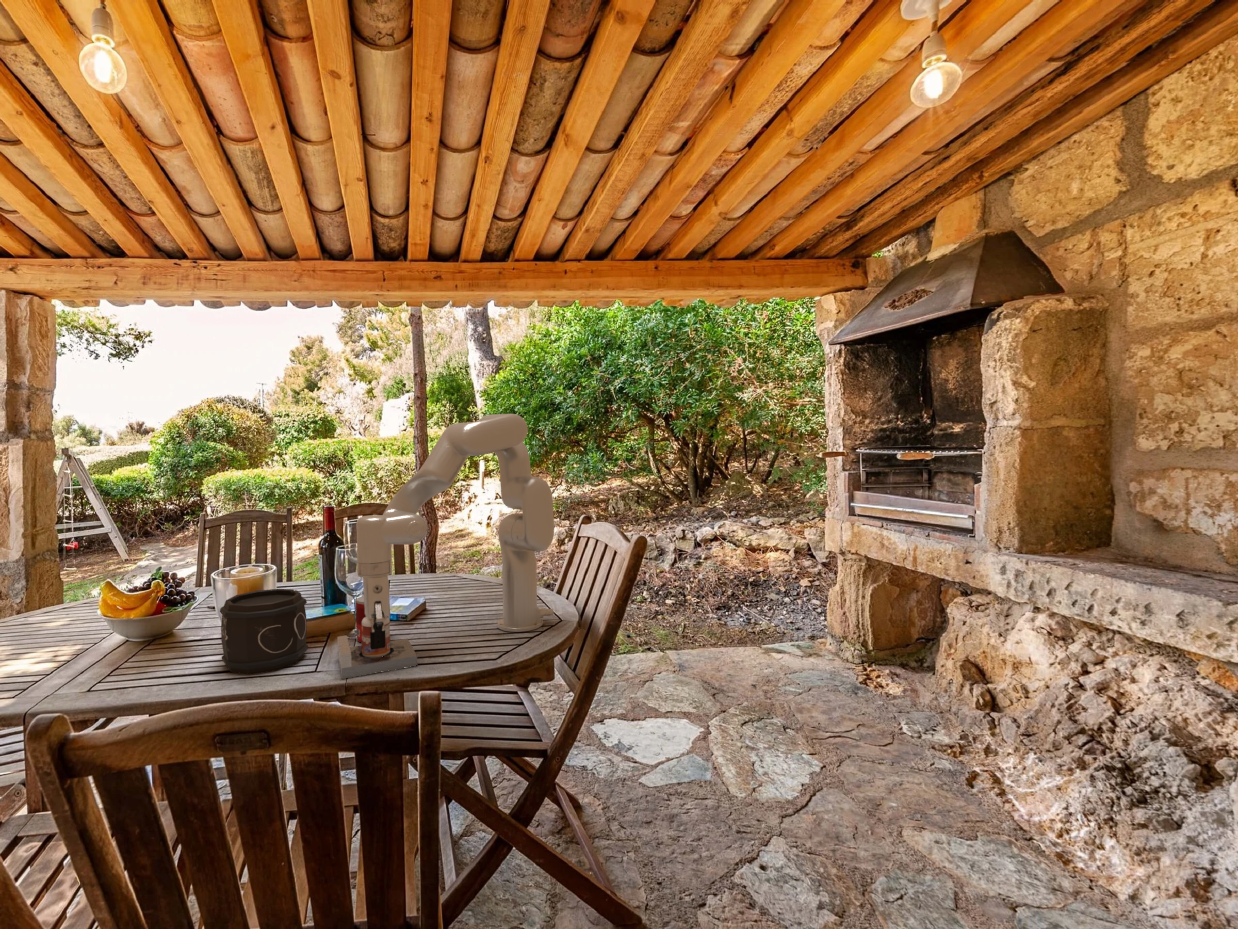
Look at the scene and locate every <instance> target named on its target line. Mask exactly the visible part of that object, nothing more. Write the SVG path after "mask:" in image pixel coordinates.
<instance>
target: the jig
mask: <svg viewBox="0 0 1238 929" xmlns="http://www.w3.org/2000/svg"><path fill="white" fill-rule="evenodd" d="M337 661H338V665H339V666H340V667H339V671H341V672H340V677H341V680H346V678H348V679H352V677H353V678H357V677H356V676H359V677H362V676H361V675H365V676H367V675H366V674H370V673H375V672H381V671H388V670H394V671H396V670H395V669H399V670H402V669H401V668H404V667H410V666H416V665H417V666H418V655H417V653H416V652H415V649H414V648H413V646H412V644H411V643H410V641H409V638H402V639H401V638H400V639H396V640H395V639H394V640H390V652H389V653H388V654H387V655H385V656H384V657H377V658H368V657H364V656H363V655H362V644H361V645H356V646H351V647H350V643H349V640H348V636H347V635H340V636H337ZM388 672H389V671H388Z"/></svg>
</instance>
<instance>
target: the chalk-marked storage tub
mask: <svg viewBox="0 0 1238 929" xmlns="http://www.w3.org/2000/svg"><path fill="white" fill-rule="evenodd" d="M307 603H308V601H307V600H306V598H304V597H303V596H302V593H301V591H298V590H297V589H295V590H294V589H293V588H292V589H291V588H273V589H272V588H271V589H262V590H255V591H254V590H253V591H249V592H244V593H240V594H236V595H234V596H232V597H230V598H228V599H226V600H225V601H224V605H223V606H221V607H220V608H219V609H220V610H219V613H220V614H221V623H220V624H221V625H220V638H221V647H222V651H223V655H222V656H221V661H222V662H223V663H224V664H225V666H226V667H227V669H228V670H229V671H230V673H231V674H239V675H241V674H242V675H257V674H263V673H269V672H270V673H271V672H276V671H279V670H282V669H284V668H287V666H288V667H290V665H291V666H294V665H295V664H296V663H298V662H299V661H300V660H302V659H303V657H304V655H305V652H307V651H308V649H309V645H308V644H306V643H307V634H308V629H307V628H308V627H307V613H306V607H305V606H306V604H307ZM293 664H294V665H293Z"/></svg>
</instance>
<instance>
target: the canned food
mask: <svg viewBox="0 0 1238 929" xmlns="http://www.w3.org/2000/svg"><path fill="white" fill-rule="evenodd" d="M365 617H366V615H365V607H364V595H362V596H359V597H357V598H355V622H356V623H355V624H356V639H357V642H359V643H360V642H361V644H362V620H363V619H364V618H365Z"/></svg>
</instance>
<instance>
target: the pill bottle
mask: <svg viewBox="0 0 1238 929" xmlns="http://www.w3.org/2000/svg"><path fill="white" fill-rule="evenodd" d="M374 609H375V605H374ZM365 615H366V617H365V618H364V619H363V620H362V643H361V645H362V655H363V656H364V657H368V658H378V657H382V656H385V655H387V654H388V653H389V652H390V641H391V629H390V628H391V624H390V623H391V620H390V617H389V618H387V617H385V615H384V628H385V645H386V646H385V647H384V648H379V649H371V648H370V632H372V631H371V620H369V619H368V618H367V614H366V609H365ZM373 618H376V616H373ZM375 622H376V621H374V623H375Z"/></svg>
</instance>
